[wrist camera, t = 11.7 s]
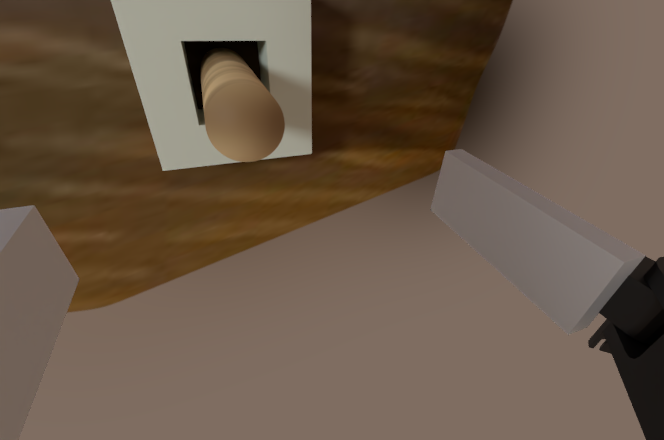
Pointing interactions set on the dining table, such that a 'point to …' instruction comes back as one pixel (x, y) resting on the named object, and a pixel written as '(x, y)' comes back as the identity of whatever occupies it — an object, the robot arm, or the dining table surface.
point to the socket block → (175, 78)
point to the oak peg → (238, 108)
